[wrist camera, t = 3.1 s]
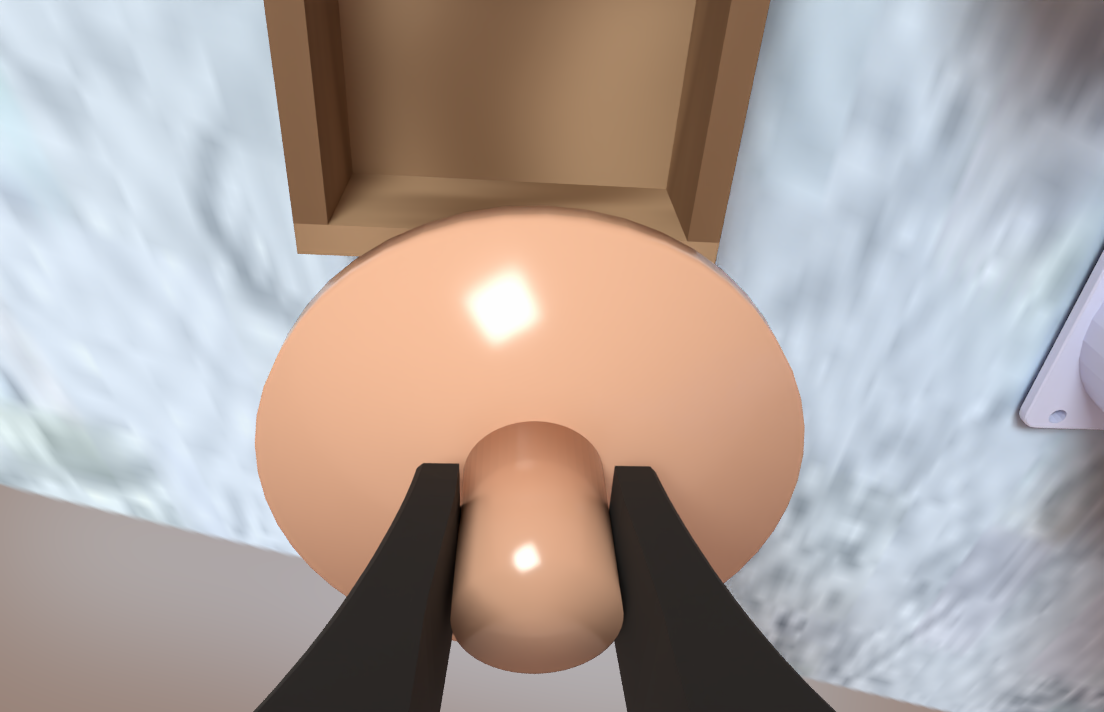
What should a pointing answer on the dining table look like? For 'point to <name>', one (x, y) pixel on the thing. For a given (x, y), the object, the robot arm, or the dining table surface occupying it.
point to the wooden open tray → (510, 111)
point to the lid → (529, 415)
